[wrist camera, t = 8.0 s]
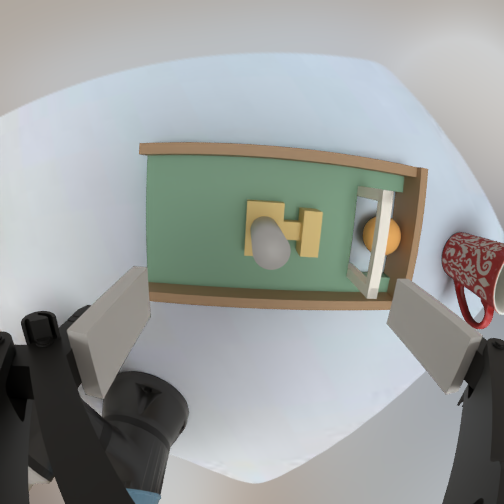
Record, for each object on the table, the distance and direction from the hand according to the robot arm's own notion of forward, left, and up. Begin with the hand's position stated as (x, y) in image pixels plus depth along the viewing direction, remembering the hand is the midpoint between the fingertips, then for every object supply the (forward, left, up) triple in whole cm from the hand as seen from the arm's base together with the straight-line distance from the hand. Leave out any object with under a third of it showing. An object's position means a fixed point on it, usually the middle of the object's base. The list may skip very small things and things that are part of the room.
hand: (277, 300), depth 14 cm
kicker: (+2, -1, -20) cm, 20 cm away
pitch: (+3, -1, -22) cm, 22 cm away
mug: (+26, -18, -23) cm, 39 cm away
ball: (+14, -7, -20) cm, 25 cm away
